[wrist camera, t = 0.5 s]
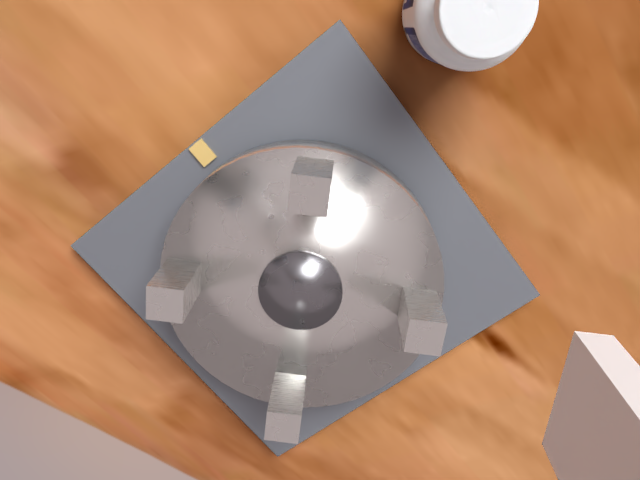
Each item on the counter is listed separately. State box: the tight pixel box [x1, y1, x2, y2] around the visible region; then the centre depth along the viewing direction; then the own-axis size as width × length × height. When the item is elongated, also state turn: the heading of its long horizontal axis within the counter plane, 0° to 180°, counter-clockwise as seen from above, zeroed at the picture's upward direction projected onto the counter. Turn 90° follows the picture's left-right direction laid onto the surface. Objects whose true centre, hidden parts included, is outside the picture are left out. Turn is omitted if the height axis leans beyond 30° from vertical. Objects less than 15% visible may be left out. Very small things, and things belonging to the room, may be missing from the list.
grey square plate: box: [71, 20, 540, 457], centre depth 37 cm, size 21×22×1 cm
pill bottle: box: [402, 0, 539, 71], centre depth 27 cm, size 5×5×10 cm
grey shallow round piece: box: [146, 139, 448, 444], centre depth 33 cm, size 17×17×6 cm
